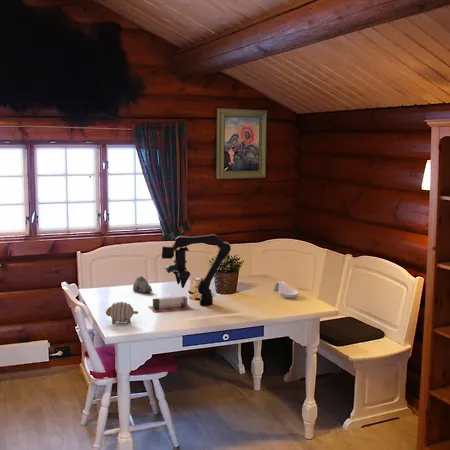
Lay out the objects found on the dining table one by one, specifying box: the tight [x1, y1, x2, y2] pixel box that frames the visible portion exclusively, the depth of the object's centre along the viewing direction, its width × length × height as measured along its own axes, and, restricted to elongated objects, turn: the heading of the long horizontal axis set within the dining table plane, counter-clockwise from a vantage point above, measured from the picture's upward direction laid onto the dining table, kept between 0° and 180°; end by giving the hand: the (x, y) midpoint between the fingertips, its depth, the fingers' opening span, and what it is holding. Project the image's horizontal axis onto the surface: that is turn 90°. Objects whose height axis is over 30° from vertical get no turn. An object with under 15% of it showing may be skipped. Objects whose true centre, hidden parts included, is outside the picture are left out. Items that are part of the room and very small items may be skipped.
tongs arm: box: [152, 296, 184, 309], centre depth 355 cm, size 17×2×5 cm, turn 109°
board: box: [148, 303, 194, 314], centre depth 356 cm, size 22×14×1 cm, turn 109°
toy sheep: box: [105, 301, 139, 325], centre depth 331 cm, size 11×17×11 cm, turn 88°
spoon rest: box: [272, 280, 299, 299], centre depth 391 cm, size 24×12×7 cm, turn 20°
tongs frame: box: [152, 295, 188, 308], centre depth 357 cm, size 19×3×5 cm, turn 109°
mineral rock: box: [132, 275, 153, 294], centre depth 394 cm, size 13×11×10 cm
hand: (180, 285), depth 362 cm, fingers open, 9 cm apart
